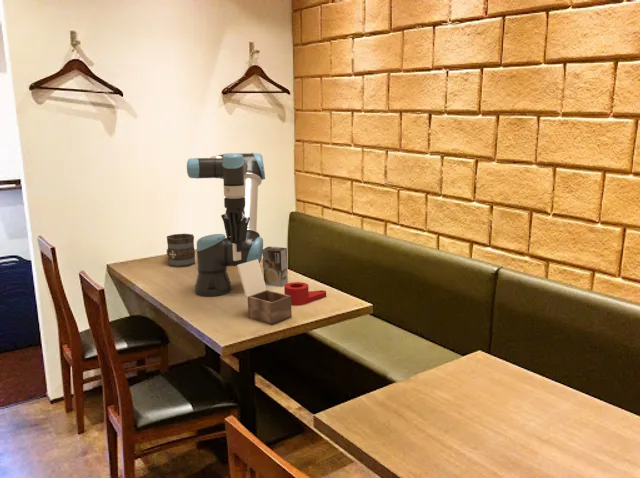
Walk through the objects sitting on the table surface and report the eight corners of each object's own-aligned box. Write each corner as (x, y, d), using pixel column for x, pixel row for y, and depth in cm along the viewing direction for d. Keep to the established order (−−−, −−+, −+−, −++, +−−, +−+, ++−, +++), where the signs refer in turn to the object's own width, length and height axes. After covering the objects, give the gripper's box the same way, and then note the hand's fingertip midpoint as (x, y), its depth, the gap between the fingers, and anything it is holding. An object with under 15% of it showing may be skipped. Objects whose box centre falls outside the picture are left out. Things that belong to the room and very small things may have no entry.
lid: (247, 296, 203) (245, 297, 204) (266, 289, 211) (265, 290, 211) (238, 264, 203) (236, 265, 204) (257, 259, 211) (256, 259, 211)
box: (248, 317, 205) (247, 296, 203) (267, 310, 212) (267, 289, 211) (272, 325, 197) (271, 303, 196) (291, 317, 205) (291, 296, 203)
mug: (201, 266, 274) (199, 236, 271) (175, 272, 266) (173, 240, 262) (182, 259, 289) (180, 230, 286) (157, 264, 280) (155, 234, 277)
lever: (291, 307, 216) (291, 290, 214) (280, 300, 224) (280, 284, 222) (331, 299, 225) (331, 283, 223) (319, 293, 233) (319, 277, 231)
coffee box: (288, 283, 246) (287, 247, 242) (282, 287, 240) (281, 251, 236) (269, 281, 249) (268, 246, 245) (263, 285, 243) (261, 249, 240)
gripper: (214, 196, 206) (217, 259, 211) (239, 199, 198) (242, 264, 203) (229, 194, 212) (232, 255, 217) (254, 197, 204) (256, 260, 209)
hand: (237, 259), depth 210 cm, fingers closed
